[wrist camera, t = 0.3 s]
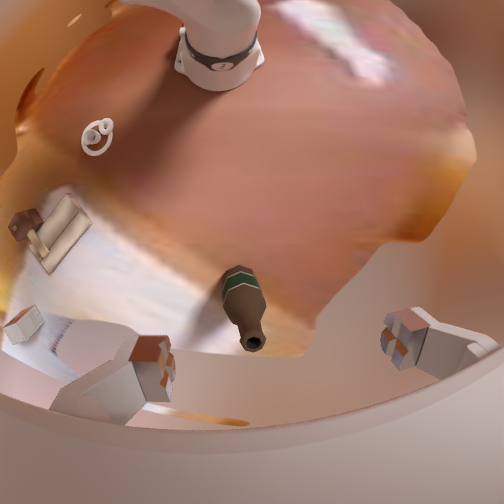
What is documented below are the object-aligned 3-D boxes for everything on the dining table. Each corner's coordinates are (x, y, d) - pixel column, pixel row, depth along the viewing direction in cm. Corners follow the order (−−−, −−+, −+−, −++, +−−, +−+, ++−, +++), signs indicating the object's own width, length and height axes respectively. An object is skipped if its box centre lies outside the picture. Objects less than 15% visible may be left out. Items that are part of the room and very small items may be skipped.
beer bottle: (222, 298, 60) (227, 366, 37) (220, 265, 58) (224, 322, 35) (257, 295, 61) (279, 361, 38) (256, 263, 59) (281, 317, 36)
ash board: (32, 244, 50) (28, 246, 48) (70, 193, 49) (65, 193, 47) (52, 271, 53) (48, 273, 51) (92, 222, 52) (88, 224, 50)
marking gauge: (26, 220, 49) (5, 228, 40) (34, 208, 48) (13, 214, 40) (50, 255, 52) (31, 266, 44) (59, 243, 52) (40, 253, 43)
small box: (35, 304, 55) (16, 322, 45) (45, 322, 56) (27, 341, 46) (21, 310, 54) (2, 327, 44) (30, 327, 56) (12, 345, 46)
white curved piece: (114, 114, 47) (107, 110, 43) (119, 148, 49) (112, 146, 45) (80, 128, 46) (72, 125, 42) (85, 160, 48) (76, 160, 44)
